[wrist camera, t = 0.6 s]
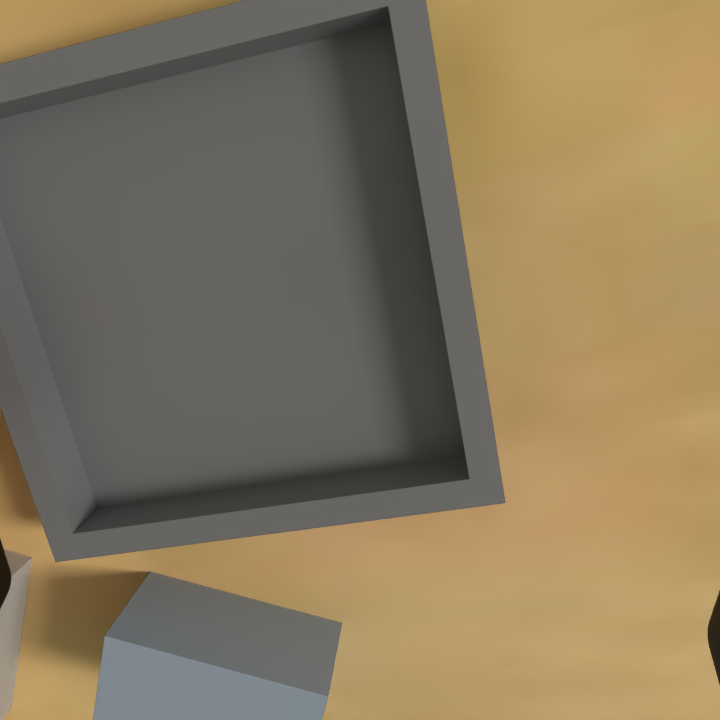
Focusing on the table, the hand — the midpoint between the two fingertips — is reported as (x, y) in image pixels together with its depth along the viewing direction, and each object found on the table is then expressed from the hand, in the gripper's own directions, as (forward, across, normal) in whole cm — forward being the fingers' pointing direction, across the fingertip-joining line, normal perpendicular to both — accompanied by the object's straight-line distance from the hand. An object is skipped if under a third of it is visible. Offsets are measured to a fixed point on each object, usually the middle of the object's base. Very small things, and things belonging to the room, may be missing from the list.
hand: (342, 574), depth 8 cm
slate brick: (+12, +6, +16) cm, 21 cm away
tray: (+15, +6, +2) cm, 16 cm away
